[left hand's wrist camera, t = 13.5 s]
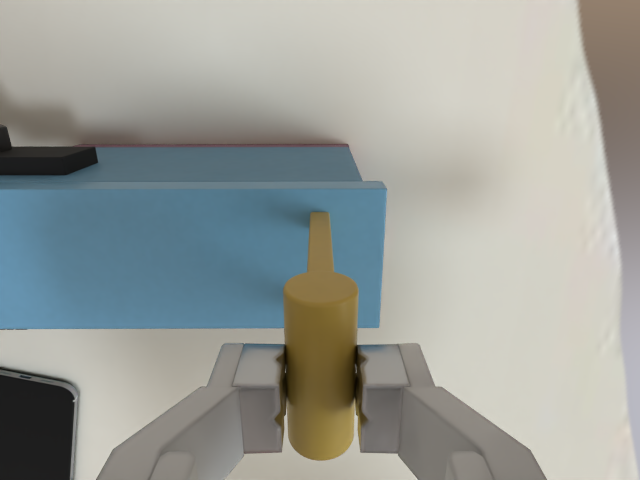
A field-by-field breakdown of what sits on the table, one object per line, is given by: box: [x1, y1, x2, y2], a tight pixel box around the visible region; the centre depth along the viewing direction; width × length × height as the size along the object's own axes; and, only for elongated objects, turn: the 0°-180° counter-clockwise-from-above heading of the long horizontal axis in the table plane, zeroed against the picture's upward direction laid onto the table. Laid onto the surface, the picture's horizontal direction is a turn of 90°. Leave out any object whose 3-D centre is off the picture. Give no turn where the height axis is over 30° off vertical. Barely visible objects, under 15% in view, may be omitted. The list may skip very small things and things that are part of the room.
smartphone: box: [0, 370, 78, 480], centre depth 33 cm, size 7×1×15 cm
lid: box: [0, 181, 387, 460], centre depth 14 cm, size 16×6×8 cm, turn 90°
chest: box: [0, 144, 362, 182], centre depth 22 cm, size 16×6×9 cm, turn 90°
